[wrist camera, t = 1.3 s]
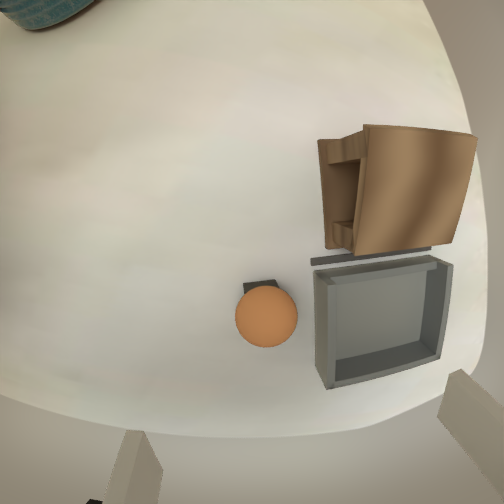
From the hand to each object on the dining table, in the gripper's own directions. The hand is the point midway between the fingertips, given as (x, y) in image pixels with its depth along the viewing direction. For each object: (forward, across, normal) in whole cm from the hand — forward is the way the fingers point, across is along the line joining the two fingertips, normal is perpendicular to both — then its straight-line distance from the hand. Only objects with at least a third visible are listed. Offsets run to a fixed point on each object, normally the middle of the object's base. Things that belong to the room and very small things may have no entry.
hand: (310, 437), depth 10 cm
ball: (+14, 0, -1) cm, 14 cm away
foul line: (+19, +12, +2) cm, 22 cm away
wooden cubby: (+19, +12, +8) cm, 24 cm away
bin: (+19, +12, -4) cm, 23 cm away
